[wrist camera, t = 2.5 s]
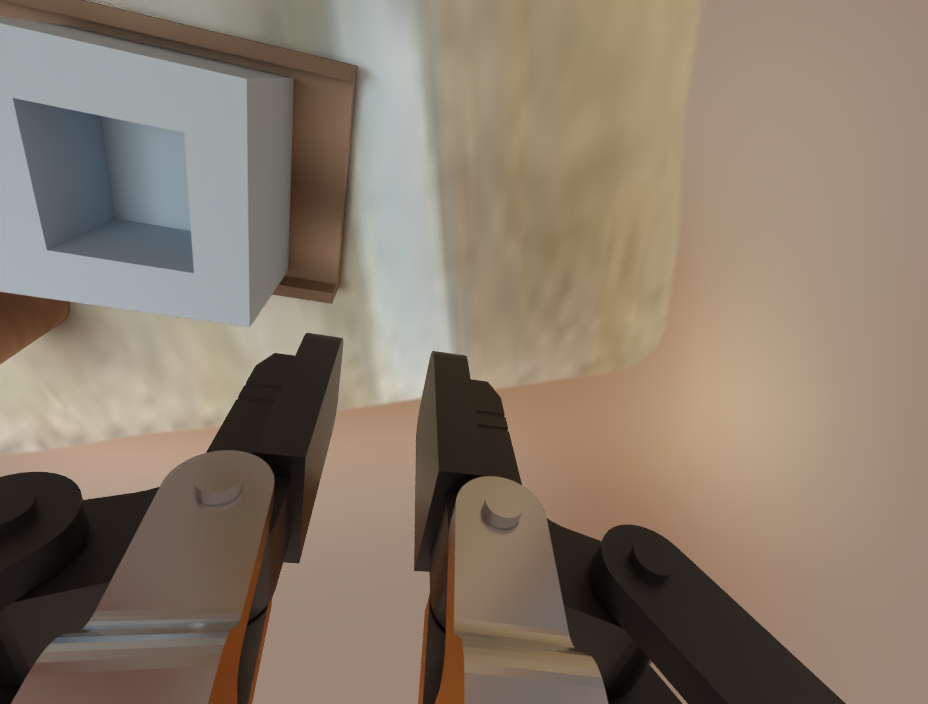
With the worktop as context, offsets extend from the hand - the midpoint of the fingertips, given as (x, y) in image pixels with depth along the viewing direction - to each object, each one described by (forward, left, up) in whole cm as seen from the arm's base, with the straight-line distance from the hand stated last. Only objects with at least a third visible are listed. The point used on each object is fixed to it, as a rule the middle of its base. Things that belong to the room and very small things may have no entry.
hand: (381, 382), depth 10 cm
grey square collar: (0, -10, -16) cm, 19 cm away
